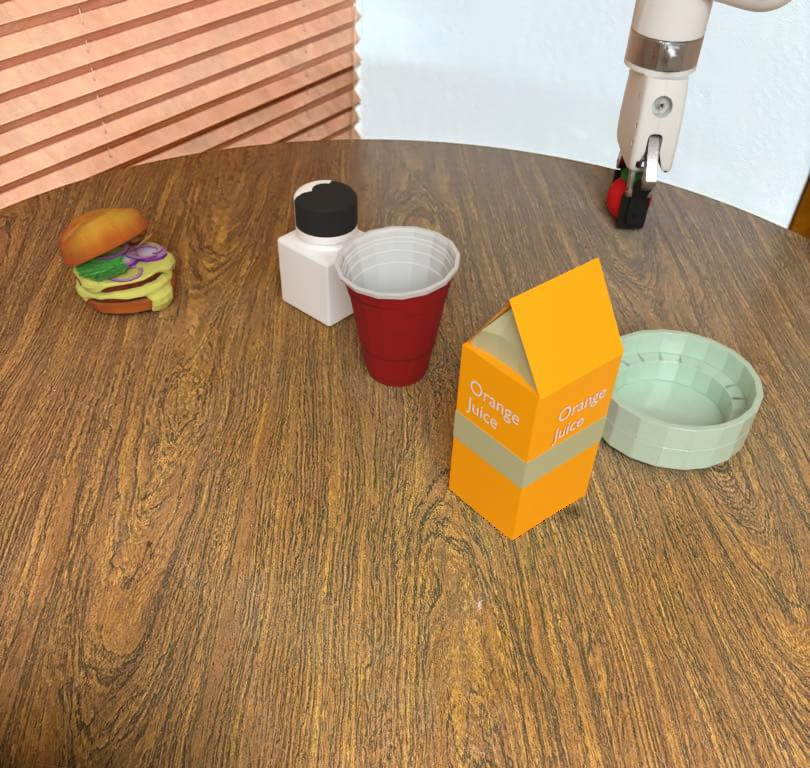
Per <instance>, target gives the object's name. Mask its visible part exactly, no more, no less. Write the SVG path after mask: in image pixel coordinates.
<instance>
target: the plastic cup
mask: <svg viewBox="0 0 810 768" xmlns="http://www.w3.org/2000/svg"><path fill="white" fill-rule="evenodd" d="M364 232H365V233H363V234H361V235H358V236H356V237H354V238H352V239H350V240H349V241H348V242H347V243H346V244H345V245H344V246H343V247H342V248H341V249H340V250H339V251H338V253H337V257H336V260H335V264H334V265H335V268H336V270H337V272H338V275H339V277H340V279H341V281H342V282H343V283H344V284H345V285H346V287H347V290H348V293H349V296H350V299H351V304H352V308H353V316H354V317H353V318H354V321H355V327H356V330H357V335H358V339H359V342H360V344H361V349H362V354H363V359H364V364H365V366H366V369H367V371H368V374H369V376H370V377H371V378H372V379H373V380H375V381H376V382H377V383H380V384H382V383H383V384H382V385H385V386H387V385H389V386H388V387H398V388H400V387H405V386H411V385H413V384H416V383H418V382H419V381H421V380H422V379H423V378H424V376H425V375H426V374H427V370H429V365H430V362H431V356H432V354H433V353H432V352H433V349H434V348H435V344H436V340H437V336H438V332H439V328H440V324H441V320H442V316H443V312H444V307H445V303H446V299H447V298H448V295H449V291H450V288H451V285H452V281H453V280H454V279H453V278H454V277H455V276H456V275H457V273H458V270H459V266H460V260H461V253H460V251H459V249H458V247H457V246H456V245H455V243H454V241H453V240H451V239H450V238H448V237H446V236H445V235H443V234H442V233H441V232H439V231H436V230H432V229H428V228H424V227H421V226H415V225H412V226H411V225H409V226H408V225H390V226H385V227H380V228H374V229H369V230H367V231H364Z"/></svg>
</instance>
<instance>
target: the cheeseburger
mask: <svg viewBox="0 0 810 768" xmlns="http://www.w3.org/2000/svg"><path fill="white" fill-rule="evenodd" d="M149 226H150V221H149V220H148V218H146V217H145V216H144V215H143V214H142V213H141V211H139V210H138V208H135V207H103V208H97V209H93V210H90V211H86V212H84V213H81V214H80V215H78V216H76V217H74V218H73V219H72V220H71V221H70V222H69V224H68V225H67V227H66V228H65V230H64V231H63V232H62V235H61V237H60V239H59V244H58V247H59V251H60V256H61V260H62V263H63V264H64V265H66V266H67V267H72V272H73V274H74V275H75V276H76V280H75V291H76V292H77V294H78V296H80V297H81V299H82V300H83V301H84V302H87V303H88V305H89V306H90V307H91V306H92V307H93V308H92V307H91V308H92V309H94V310H96V311H97V312H99V313H101V314H113V315H115V314H117V315H123V314H138V313H142V312H146V311H152V312H160V311H162V310H165V309H167V308H168V307H169V306H170V305H171V303H172V301H173V299H174V293H175V288H176V284H177V281H176V273H175V271H174V269H175V268H176V262H177V260H176V257H175V256H174V255H173V254H172V253H171V252H170V251H168V250H167V248H165V246H162V245H160V244H158V243H157V242H153V241H150V240H151V239H152V237H153V235H154V234H153V232H151V233H150V234H149V235H146V234H142V233H143V232H144V231H145V230H146V229H148V227H149ZM140 234H142V235H140ZM139 235H140V236H139Z"/></svg>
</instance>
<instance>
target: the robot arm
mask: <svg viewBox="0 0 810 768" xmlns="http://www.w3.org/2000/svg"><path fill="white" fill-rule="evenodd" d="M792 1H793V0H635V3H634V7H633V13H632V18H631V23H630V29H629V34H628V39H627V42H626V47H625V48H626V49H625V53H624V58H623V62H624V65H625V66H626V67H627V68H629V70H628V76H627V80H626V84H625V88H624V92H623V97H622V102H621V106H620V111H619V112H620V113H619V116H618V122H617V129H616V140H617V144H618V147H619V153H618V155H617V159H616V163H615V165H616V166H615V168H616V169H614V172H613V177H612V182H611V185H612V184H613V182H614V181H615V180H617V179H618V178H620V177H621V173H622V170H623V169H625V168H628V169H629V175H628V181H627V188H626V193H622V198H621V202H620V207H619V211H618V216H617V219H615V220H616V221H615V226H616V227H617V228H618V229H629V230H630V229H632V230H641V229H643V228H644V226H645V223H646V218H647V214H648V211H649V209H648V207H649V203H650V199H651V196H652V197H653V191H654V188H655V187H656V185H657V182H658V171H659V170H658V169H659V168H660V170H661V171H662V172H663V173H669V172H670V171H671V170H672V168H673V164H674V160H675V155H676V151H677V146H678V142H679V137H680V132H681V128H682V123H683V118H684V112H685V107H686V102H687V95H688V87H689V78H690V77H689V76H690V75H693V74H694V73H695V72H696V70H697V67H698V62H699V59H700V55H701V51H702V46H703V42H704V40H705V35H706V31H707V27H708V23H709V19H710V15H711V11H712V9H713V8H712V7H713V4H714V2H716V3H720V4H723V5H726V6H730V7H732V8H736V9H739V10H742V11H748V12H752V13H766V12H772V11H775V10H778V9H781V8H782V7H785V6H786V5H787V4H789V3H790V2H792ZM636 174H643V176H642V178H641V179H638V180H637V181H636V182H635V183H634V181H635V175H636ZM649 208H650V207H649Z"/></svg>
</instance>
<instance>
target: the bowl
mask: <svg viewBox="0 0 810 768" xmlns="http://www.w3.org/2000/svg"><path fill="white" fill-rule="evenodd" d="M620 338H621V342H622V346H623V349H624V353H623V355H622V359H621V362H620V366H619V370H618V374H617V378H616V381H615V385H614V389H613V393H612V397H611V400H610V404H609V408H608V412H607V418H606V422H605V426H604V430H603V433H602V437H601V439H603V440H604V442H606V443H607V444H608V445H609V446H611V447H612V448H613V449H615V450H617V452H618V451H619V452H620V453H622V454H623V455H625V456H626V457H628V458H630V459H632V460H636V461H638V462H642V463H645V464H646V465H650V466H653V467H656V468H665V469H671V470H679V471H689V470H701V469H709V468H711V467H714V466H716V465H719V464H722V463H724V462H728V461H729V460H730V459H731V458H732V457H734V455H736V454H737V453H738V452H739V451H740V450H741V449H742V448H743V446H744V444H745V442H746V439H747V437H748V434H749V432H750V430H751V428H752V426H753V424H754V420H755V418H756V416H757V414H758V411H759V410H760V406H761V404H762V402H763V398H764V396H765V393H764V389H763V381H762V379H761V377H760V376H759V374H758V373H757V371H756V369H755V368H754V367H753V365H752V364H751V363H750V362H749V361H748V360H747V359H745V358H744V357H743V356H741V354H739V353H738V352H737V351H735V350H734V349H733V348H730V347H729V346H728V345H727V346H726V345H725V344H723V343H721V342H719V341H717V340H715V339H712V338H709V337H706V336H703V335H699V334H696V333H693V332H688V331H684V330H675V329H666V328H655V329H641V330H637V331H633V332H630V333H627V334H623V335H620Z"/></svg>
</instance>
